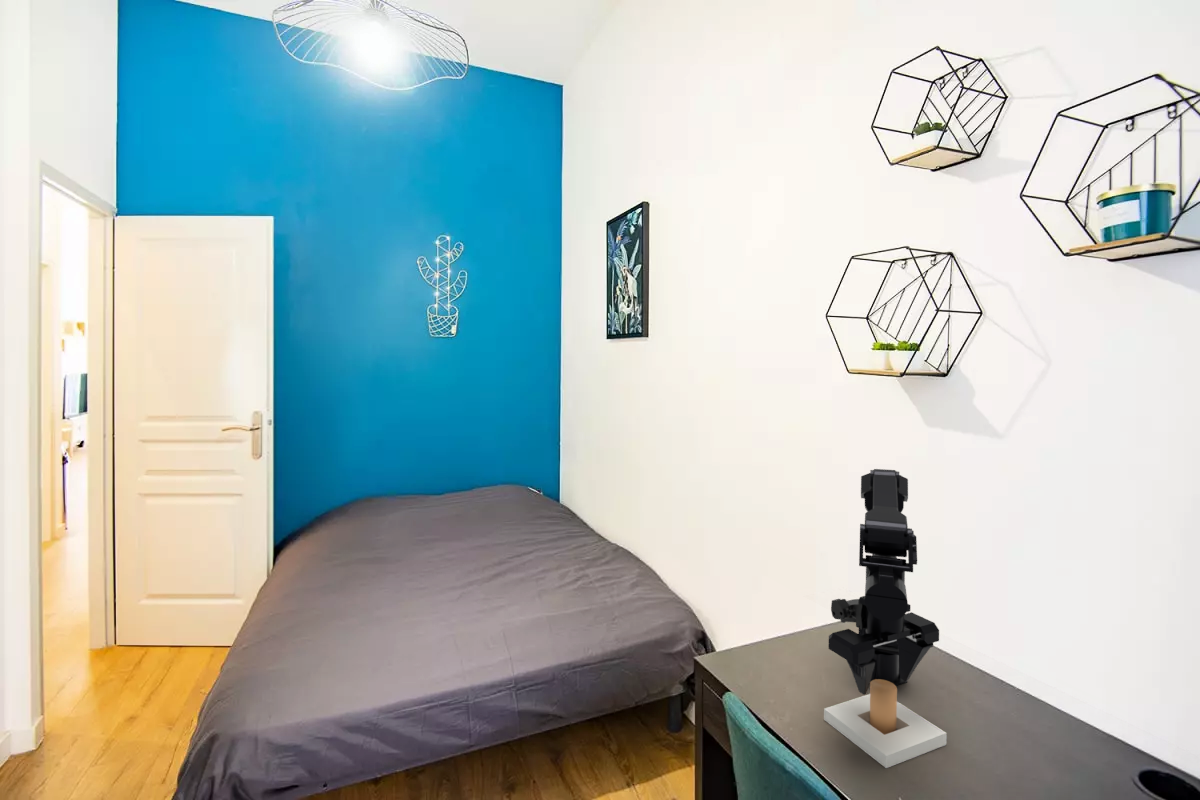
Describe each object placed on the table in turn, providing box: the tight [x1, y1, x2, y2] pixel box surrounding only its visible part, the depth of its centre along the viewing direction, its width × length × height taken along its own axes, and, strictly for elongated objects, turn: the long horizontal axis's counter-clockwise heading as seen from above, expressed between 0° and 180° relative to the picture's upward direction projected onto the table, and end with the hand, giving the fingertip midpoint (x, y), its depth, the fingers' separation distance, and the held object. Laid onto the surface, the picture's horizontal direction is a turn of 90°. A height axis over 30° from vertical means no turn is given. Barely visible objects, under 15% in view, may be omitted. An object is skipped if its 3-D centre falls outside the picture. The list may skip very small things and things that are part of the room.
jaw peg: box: [869, 679, 898, 735], centre depth 97 cm, size 4×4×8 cm
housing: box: [823, 693, 948, 769], centre depth 98 cm, size 13×13×2 cm
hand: (883, 686), depth 97 cm, fingers open, 9 cm apart
